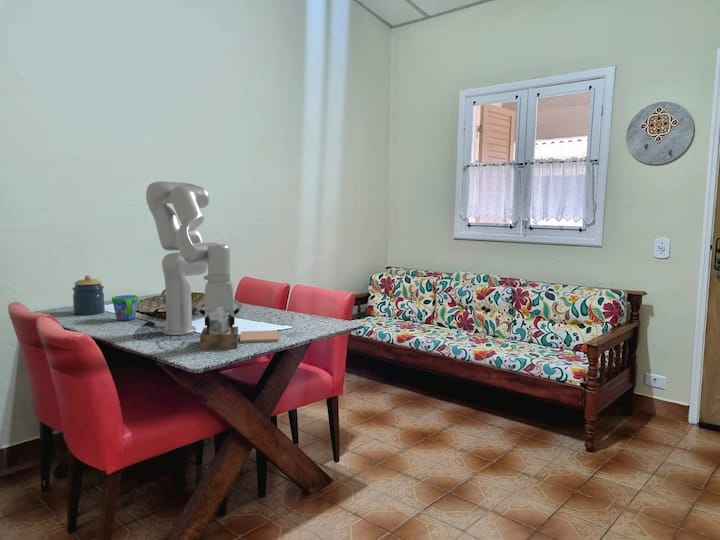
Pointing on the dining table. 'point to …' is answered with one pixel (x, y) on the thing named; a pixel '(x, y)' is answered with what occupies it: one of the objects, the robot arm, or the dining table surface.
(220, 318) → the syrup box
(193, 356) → the dining table surface
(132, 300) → the snack cup
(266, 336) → the tile
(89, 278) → the canister
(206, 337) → the collar
